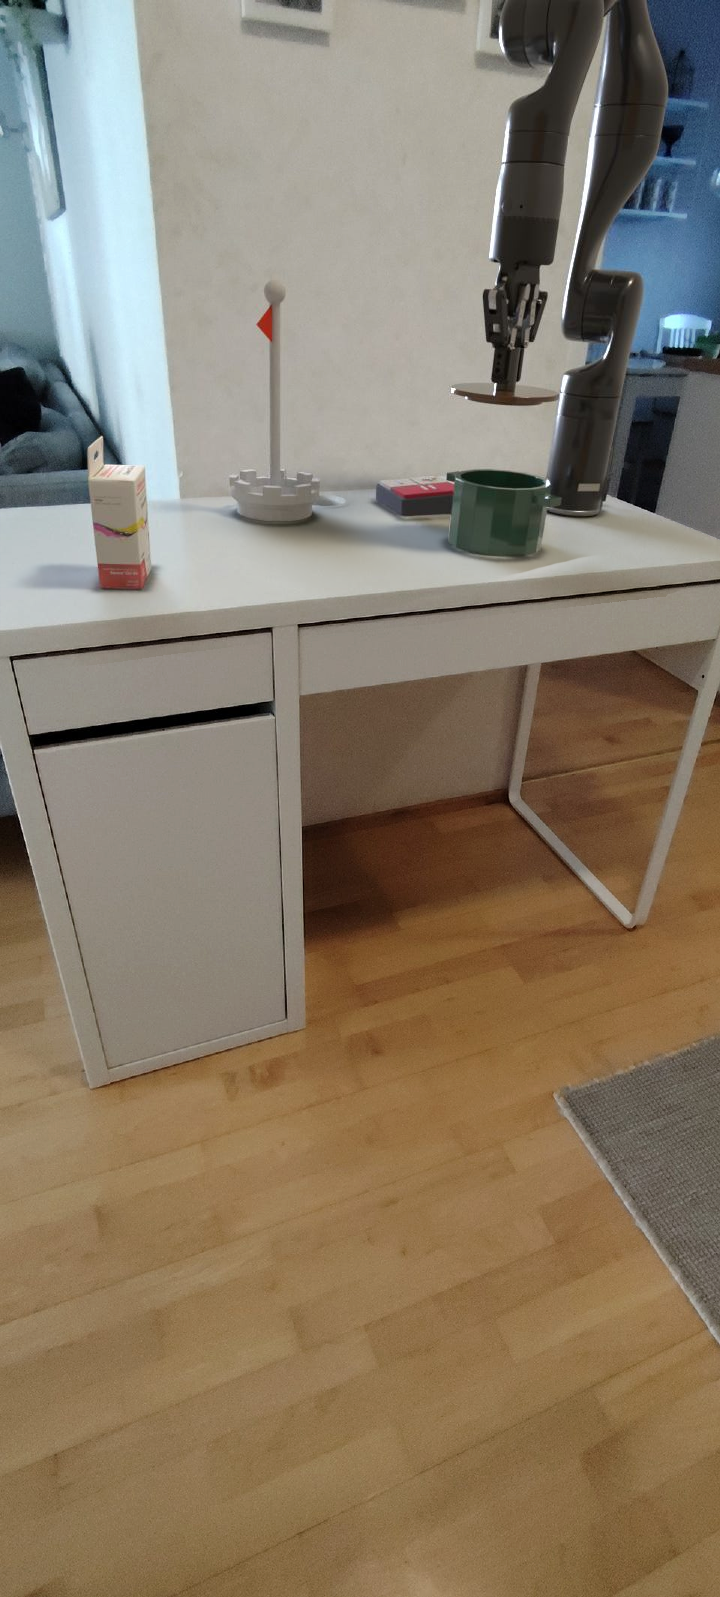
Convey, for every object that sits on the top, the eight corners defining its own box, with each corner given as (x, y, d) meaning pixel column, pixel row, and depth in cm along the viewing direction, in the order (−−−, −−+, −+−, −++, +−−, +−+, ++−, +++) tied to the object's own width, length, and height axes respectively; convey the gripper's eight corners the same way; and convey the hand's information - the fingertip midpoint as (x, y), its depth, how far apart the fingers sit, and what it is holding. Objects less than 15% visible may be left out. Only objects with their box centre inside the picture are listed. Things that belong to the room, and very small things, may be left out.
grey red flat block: (375, 478, 133) (460, 471, 138) (374, 506, 135) (458, 498, 140) (403, 494, 124) (492, 485, 129) (402, 524, 127) (490, 514, 131)
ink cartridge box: (144, 590, 94) (132, 450, 86) (99, 589, 93) (82, 448, 86) (154, 567, 101) (143, 435, 93) (111, 566, 101) (97, 434, 93)
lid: (498, 391, 115) (504, 341, 111) (579, 404, 106) (588, 351, 103) (427, 395, 107) (431, 342, 104) (509, 410, 98) (516, 353, 95)
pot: (475, 526, 125) (483, 462, 121) (574, 556, 114) (586, 487, 110) (415, 538, 118) (421, 470, 113) (514, 571, 107) (525, 498, 102)
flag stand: (255, 500, 132) (252, 276, 116) (332, 512, 128) (339, 282, 112) (214, 518, 122) (204, 274, 106) (296, 531, 118) (298, 280, 102)
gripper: (531, 210, 90) (508, 390, 99) (580, 220, 100) (555, 382, 109) (469, 209, 93) (452, 383, 102) (522, 218, 103) (502, 376, 112)
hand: (505, 381), depth 105 cm, fingers closed on lid, 2 cm apart
